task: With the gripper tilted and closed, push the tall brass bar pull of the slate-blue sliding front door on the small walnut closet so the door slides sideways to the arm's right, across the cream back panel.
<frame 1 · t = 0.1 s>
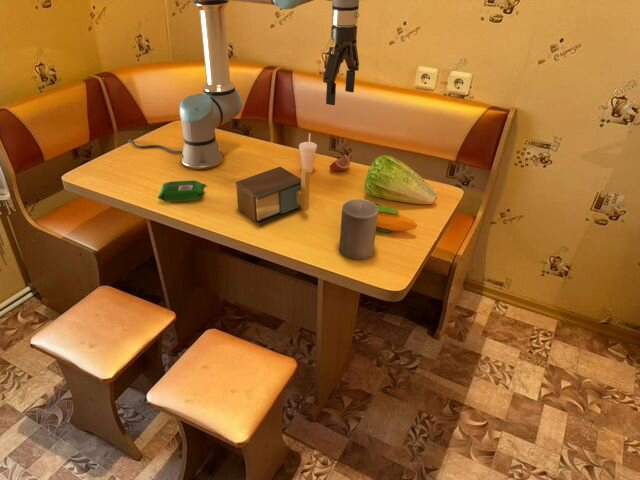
hand: (340, 97, 157), 28 cm above the table, tool pointing down, fingers open, 13 cm apart
lettuce: (399, 199, 162), on the table
snack package: (183, 198, 165), on the table
sliding door: (295, 192, 150), point 8 cm above the table, slide at 0.0 cm
fruit slice: (339, 170, 179), on the table
pillar candle: (356, 250, 140), on the table
closet: (268, 207, 159), on the table
corn: (382, 228, 148), on the table
smoothie: (307, 171, 179), on the table
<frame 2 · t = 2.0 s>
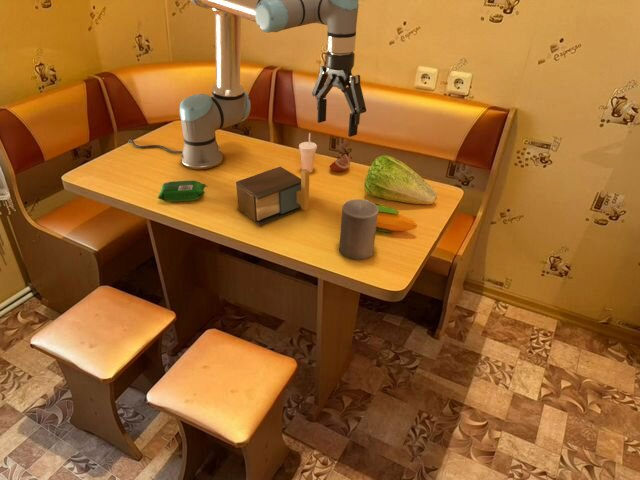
hand: (336, 128, 146), 25 cm above the table, tool pointing down, fingers open, 13 cm apart
nothing on the table moved.
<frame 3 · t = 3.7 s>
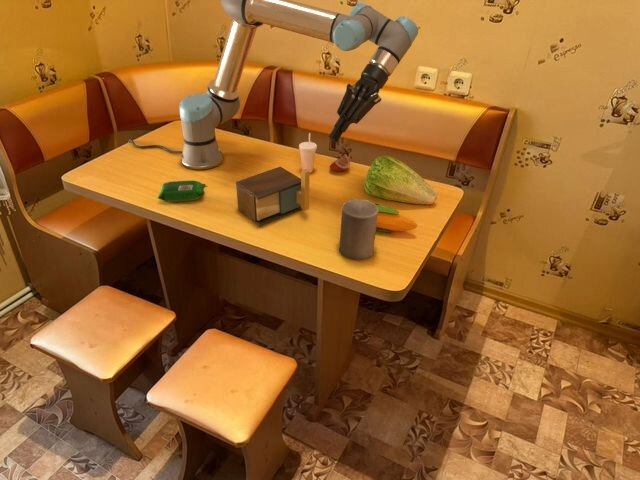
hand: (332, 139, 146), 22 cm above the table, tool tilted 45°, fingers closed
nothing on the table moved.
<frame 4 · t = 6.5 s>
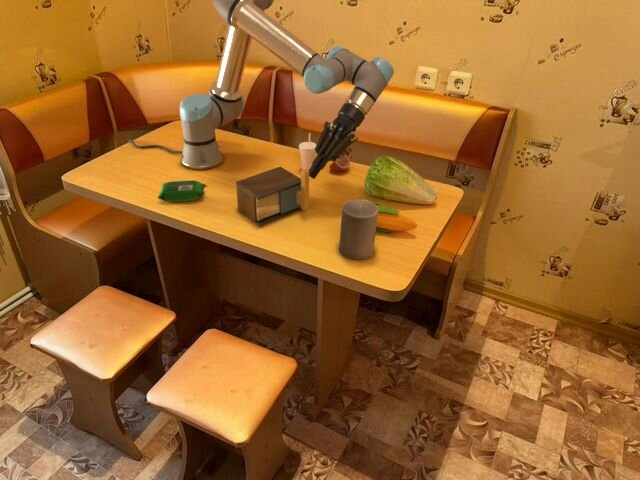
hand: (310, 176, 149), 12 cm above the table, tool tilted 45°, fingers closed
sliding door: (295, 192, 150), point 8 cm above the table, slide at 0.1 cm, touching gripper
everything else where it was.
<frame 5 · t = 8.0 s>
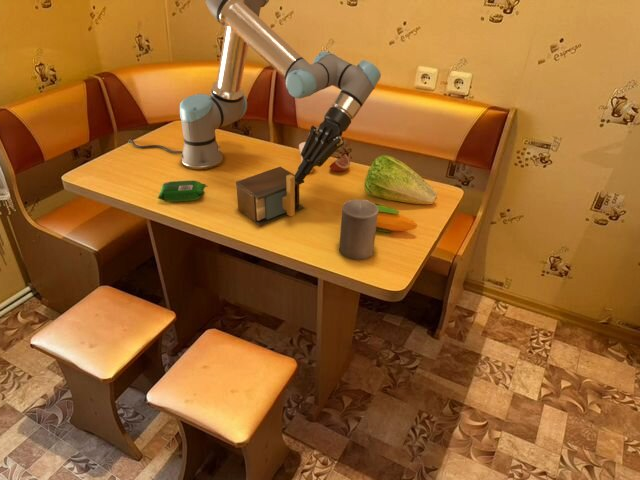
hand: (296, 181, 146), 12 cm above the table, tool tilted 45°, fingers closed
sliding door: (280, 197, 148), point 8 cm above the table, slide at 5.5 cm, touching gripper
everything else where it was.
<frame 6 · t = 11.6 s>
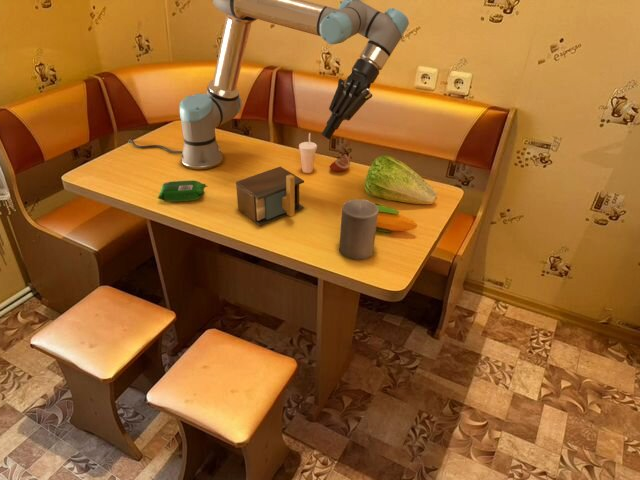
hand: (325, 136, 148), 22 cm above the table, tool tilted 40°, fingers closed
sliding door: (280, 198, 148), point 8 cm above the table, slide at 5.5 cm
everything else where it was.
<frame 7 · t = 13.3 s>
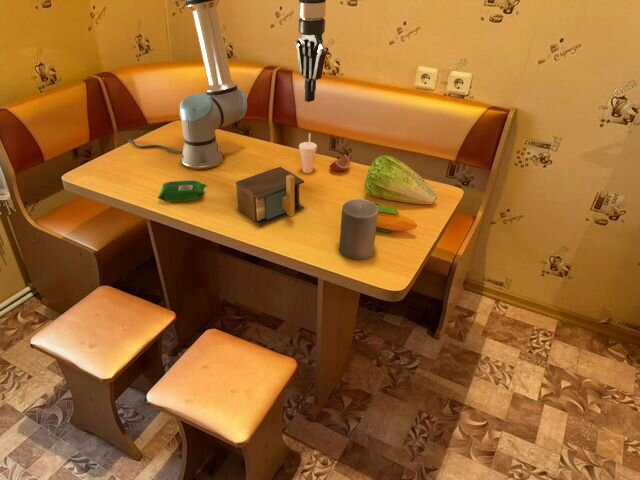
hand: (309, 100, 155), 28 cm above the table, tool pointing down, fingers closed
nothing on the table moved.
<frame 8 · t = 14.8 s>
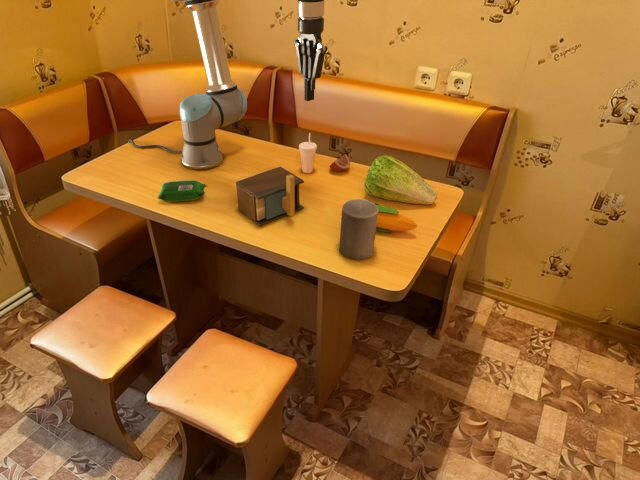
hand: (309, 99, 155), 28 cm above the table, tool pointing down, fingers closed
nothing on the table moved.
at the end: sliding door slide at 5.5 cm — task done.
